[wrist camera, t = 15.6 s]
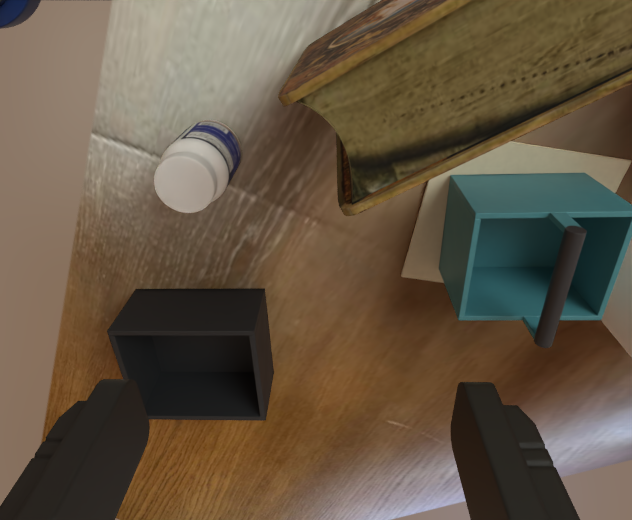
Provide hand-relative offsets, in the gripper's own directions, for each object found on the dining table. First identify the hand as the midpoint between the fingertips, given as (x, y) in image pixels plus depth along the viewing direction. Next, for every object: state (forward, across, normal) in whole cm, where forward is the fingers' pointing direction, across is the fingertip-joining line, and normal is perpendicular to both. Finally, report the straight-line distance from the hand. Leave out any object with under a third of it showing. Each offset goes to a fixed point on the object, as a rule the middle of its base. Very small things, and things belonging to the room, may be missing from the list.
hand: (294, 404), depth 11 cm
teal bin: (+34, -18, +11) cm, 40 cm away
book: (+34, -7, -7) cm, 36 cm away
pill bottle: (+34, +11, +3) cm, 36 cm away
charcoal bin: (+34, +15, +26) cm, 45 cm away
